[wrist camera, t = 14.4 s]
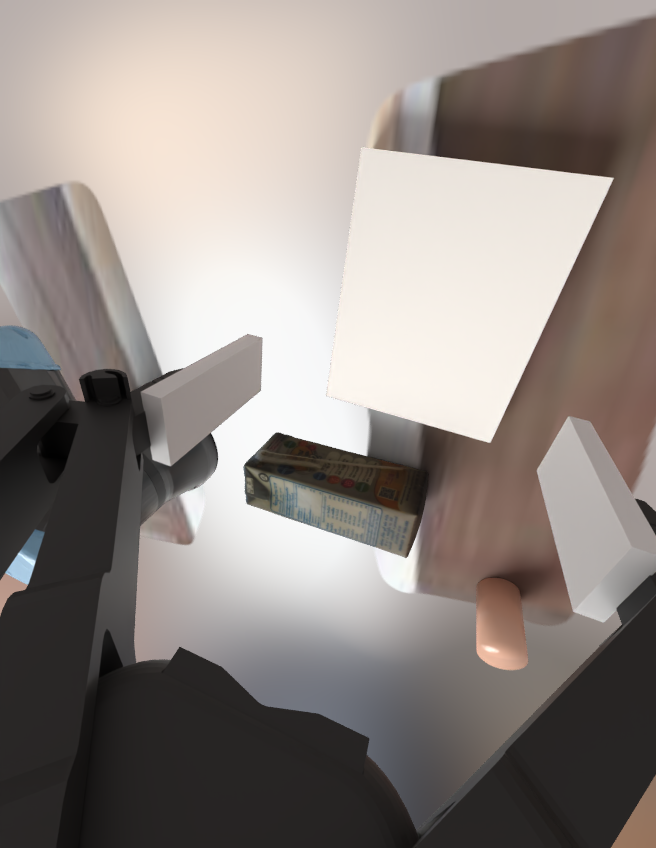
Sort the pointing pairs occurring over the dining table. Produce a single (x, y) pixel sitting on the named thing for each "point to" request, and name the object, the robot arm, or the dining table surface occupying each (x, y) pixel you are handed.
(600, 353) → the dining table surface
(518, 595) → the peach rounded cylinder
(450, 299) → the white flat slab
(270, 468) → the beverage carton
